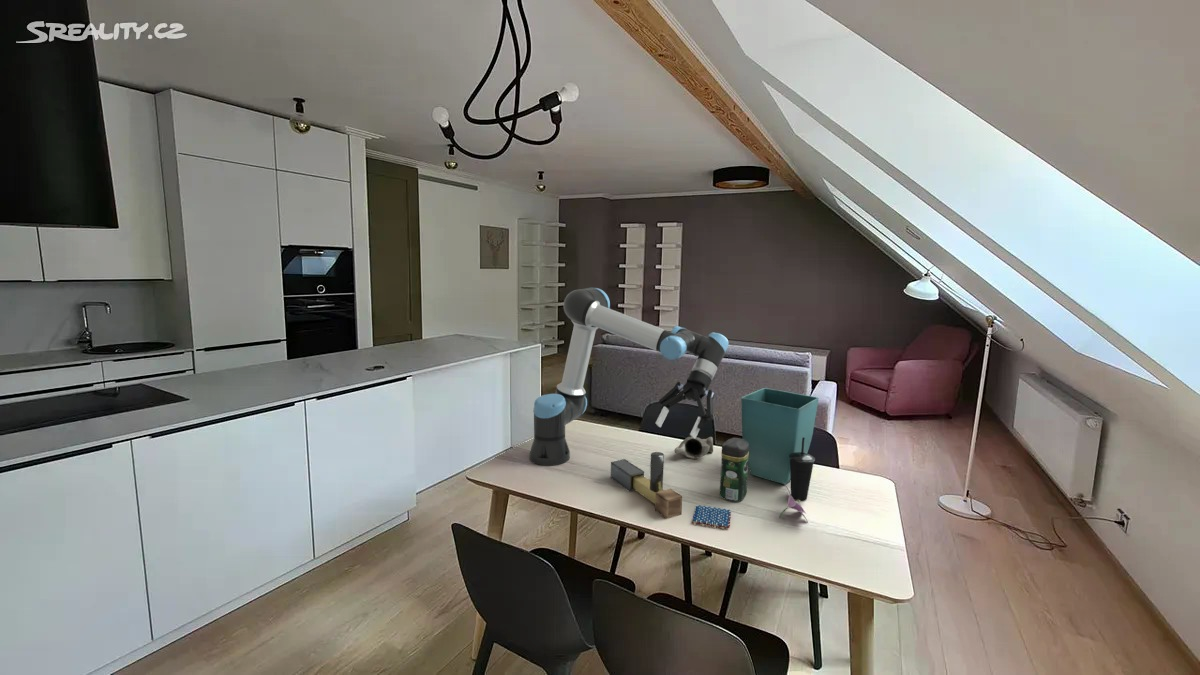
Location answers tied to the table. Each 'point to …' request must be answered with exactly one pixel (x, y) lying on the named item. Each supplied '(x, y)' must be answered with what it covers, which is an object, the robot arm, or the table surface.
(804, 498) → the drinking cup
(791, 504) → the lily
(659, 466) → the slide bolt with knob
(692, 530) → the table surface
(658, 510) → the socket
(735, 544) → the table surface
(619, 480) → the sleeve
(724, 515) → the woven mat
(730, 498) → the coffee jar
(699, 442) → the pipe
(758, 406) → the teal waste bin
